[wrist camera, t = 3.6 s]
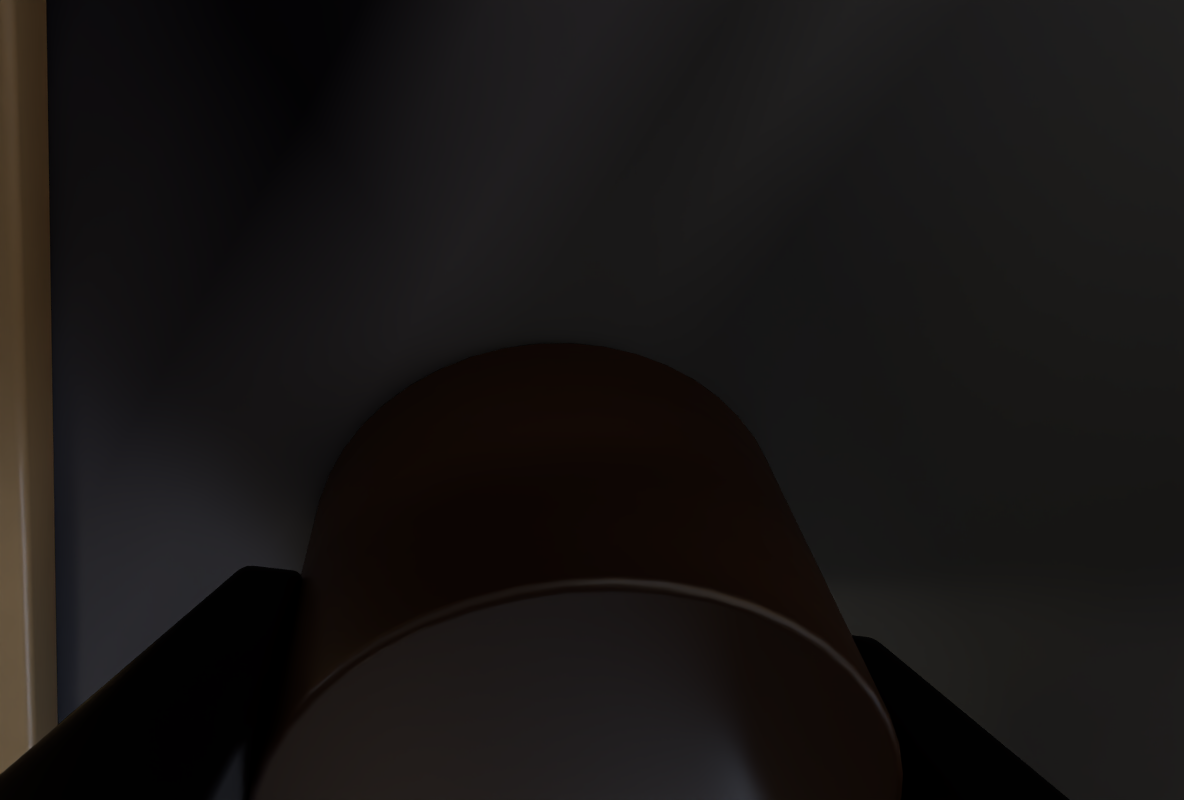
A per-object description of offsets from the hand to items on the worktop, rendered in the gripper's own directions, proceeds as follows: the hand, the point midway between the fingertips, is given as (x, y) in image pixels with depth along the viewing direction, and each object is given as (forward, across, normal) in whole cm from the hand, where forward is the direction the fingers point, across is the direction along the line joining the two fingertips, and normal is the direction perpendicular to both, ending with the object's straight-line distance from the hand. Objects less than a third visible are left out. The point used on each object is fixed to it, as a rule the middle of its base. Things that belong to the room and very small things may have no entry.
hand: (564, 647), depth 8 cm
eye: (+1, 0, 0) cm, 1 cm away
